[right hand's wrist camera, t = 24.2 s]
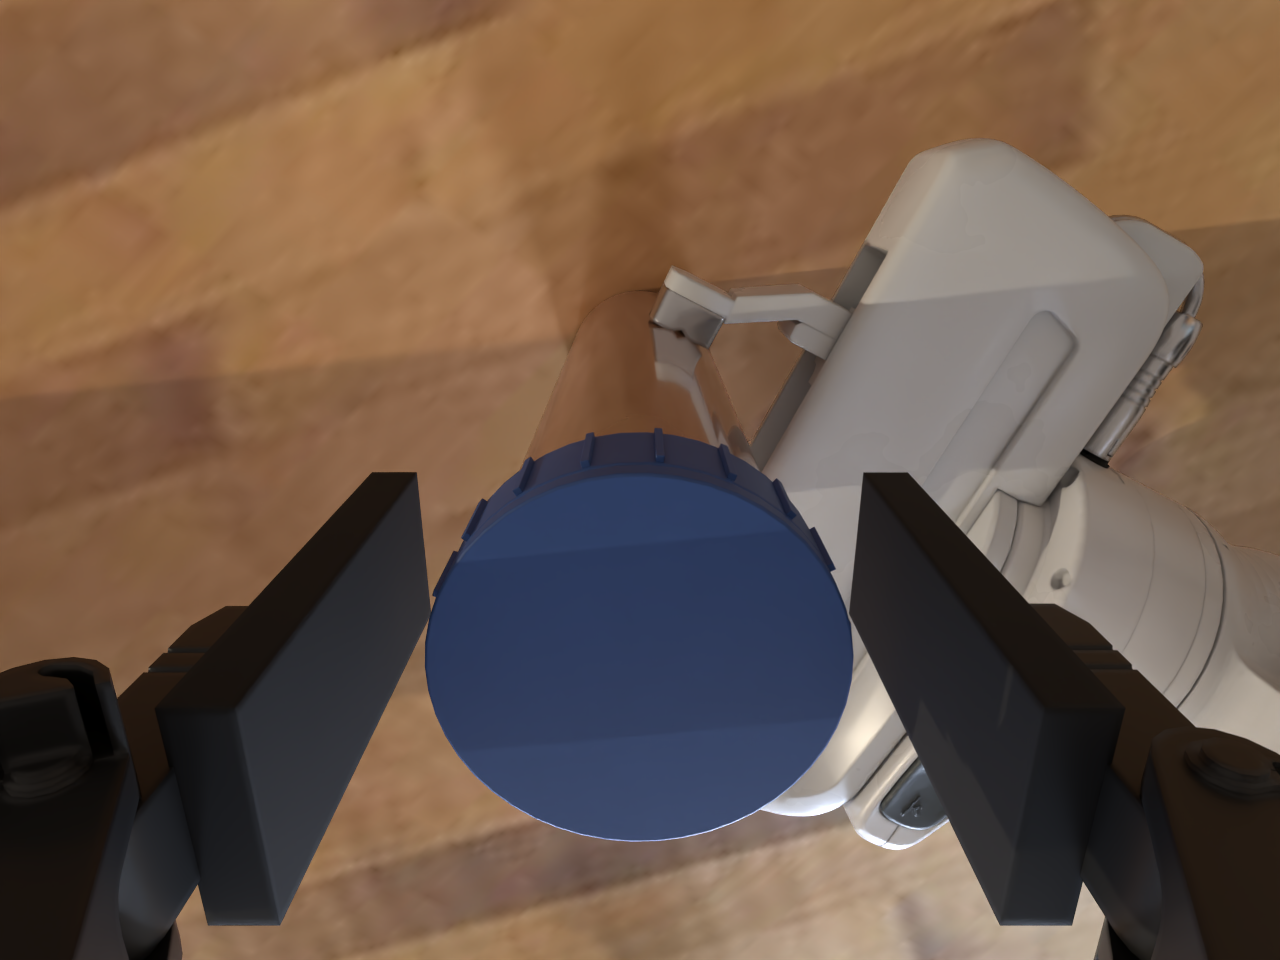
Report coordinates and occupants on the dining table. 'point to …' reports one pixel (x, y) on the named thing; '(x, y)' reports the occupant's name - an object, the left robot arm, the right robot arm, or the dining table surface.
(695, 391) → the jar
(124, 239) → the dining table surface
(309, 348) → the dining table surface
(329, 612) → the right robot arm
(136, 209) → the dining table surface
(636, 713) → the lid
